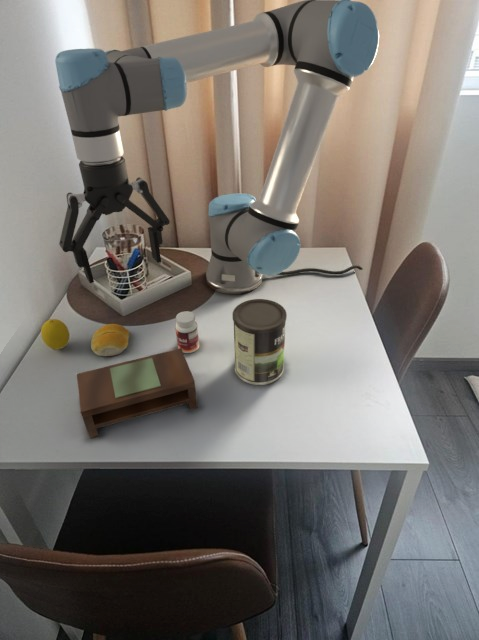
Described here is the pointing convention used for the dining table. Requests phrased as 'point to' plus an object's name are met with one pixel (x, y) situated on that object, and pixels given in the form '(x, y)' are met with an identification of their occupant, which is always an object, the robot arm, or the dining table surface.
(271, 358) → the coffee can
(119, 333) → the bread roll
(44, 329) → the lemon
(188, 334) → the pill bottle
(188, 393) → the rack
